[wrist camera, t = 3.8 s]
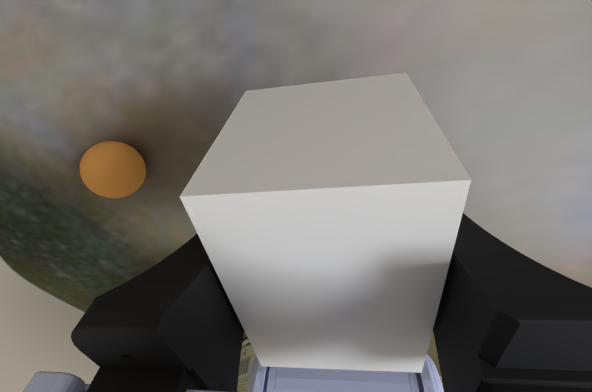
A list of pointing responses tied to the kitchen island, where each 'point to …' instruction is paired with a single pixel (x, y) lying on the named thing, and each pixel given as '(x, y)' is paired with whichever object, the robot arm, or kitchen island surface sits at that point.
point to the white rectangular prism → (332, 221)
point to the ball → (112, 169)
